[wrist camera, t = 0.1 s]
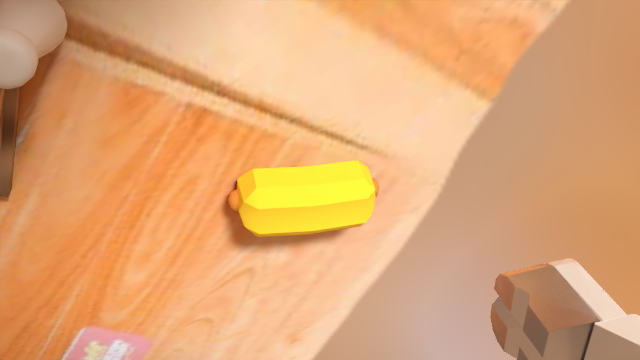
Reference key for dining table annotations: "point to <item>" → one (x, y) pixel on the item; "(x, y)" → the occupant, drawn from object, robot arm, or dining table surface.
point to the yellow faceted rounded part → (304, 198)
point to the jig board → (8, 136)
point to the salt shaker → (27, 37)
